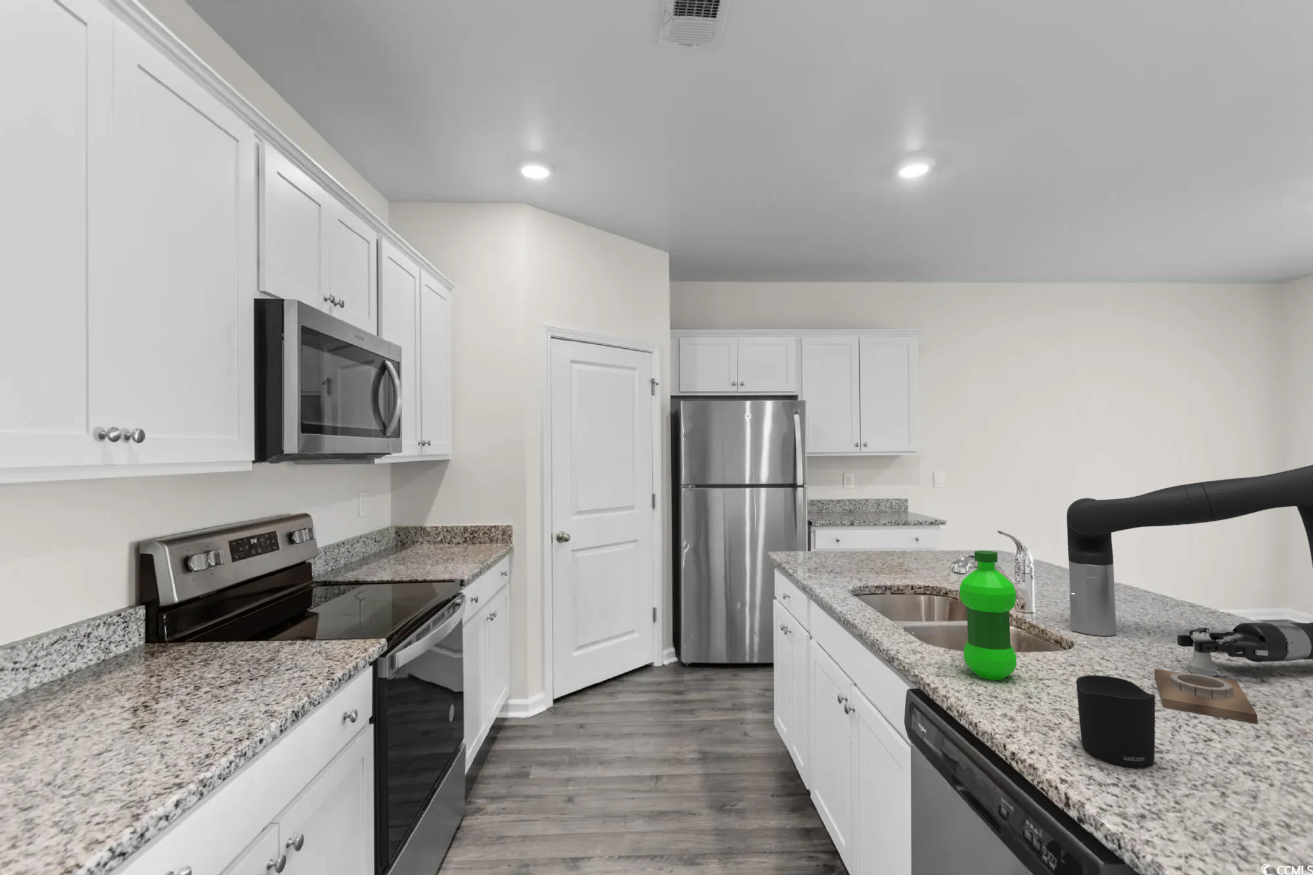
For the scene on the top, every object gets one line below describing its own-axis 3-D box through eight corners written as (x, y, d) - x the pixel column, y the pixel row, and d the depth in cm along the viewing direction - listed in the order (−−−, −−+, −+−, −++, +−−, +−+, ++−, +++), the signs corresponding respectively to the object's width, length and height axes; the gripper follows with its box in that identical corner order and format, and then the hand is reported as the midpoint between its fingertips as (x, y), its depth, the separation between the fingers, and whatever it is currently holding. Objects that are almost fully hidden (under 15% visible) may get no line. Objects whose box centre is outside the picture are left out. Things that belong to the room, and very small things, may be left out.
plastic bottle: (955, 665, 129) (951, 548, 130) (1009, 668, 127) (1005, 548, 128) (969, 682, 119) (965, 555, 120) (1028, 686, 117) (1023, 556, 118)
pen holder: (1072, 754, 91) (1069, 687, 91) (1086, 733, 97) (1083, 670, 98) (1153, 777, 84) (1150, 704, 84) (1161, 753, 90) (1158, 685, 91)
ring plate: (1162, 707, 107) (1162, 689, 107) (1154, 676, 121) (1154, 661, 121) (1257, 723, 100) (1256, 705, 100) (1236, 688, 114) (1236, 672, 114)
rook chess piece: (1212, 671, 123) (1210, 631, 124) (1222, 678, 119) (1219, 637, 120) (1184, 668, 125) (1182, 629, 125) (1193, 675, 121) (1191, 635, 121)
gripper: (1236, 614, 130) (1157, 615, 130) (1308, 633, 116) (1219, 635, 115) (1237, 649, 130) (1158, 651, 129) (1310, 672, 116) (1221, 675, 115)
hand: (1187, 643), depth 122 cm, fingers closed on rook chess piece, 3 cm apart
